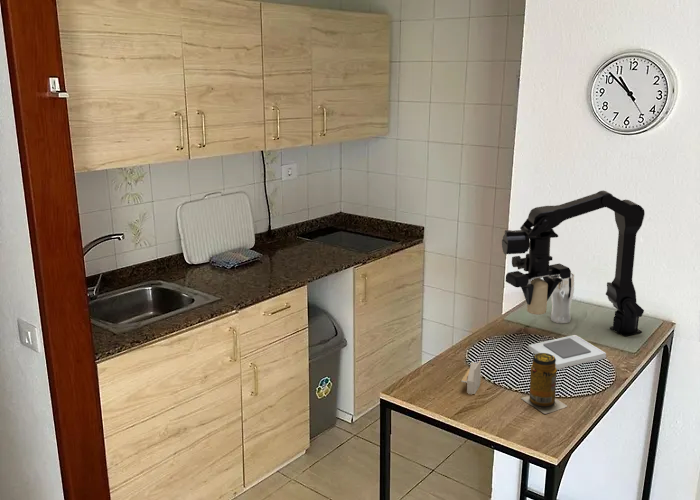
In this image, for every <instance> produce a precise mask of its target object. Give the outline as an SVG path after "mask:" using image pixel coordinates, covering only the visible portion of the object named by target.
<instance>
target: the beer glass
mask: <svg viewBox="0 0 700 500" xmlns="http://www.w3.org/2000/svg"><path fill="white" fill-rule="evenodd" d="M559 278H560V279H562V278H561V277H560V274H559ZM574 292H575V274H574V273H573V272H571V277H570V278H565V279H562V282H560V283H559V284H558V285H557V287H556V288H555V289H554V291H553V293H552V294H551V296H550V299H551V306H552V307H551V314H550V321H552V322H553V323H557V324H568V323H570V322H571V306H572V302H573V298H574Z"/></svg>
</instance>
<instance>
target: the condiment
mask: <svg viewBox="0 0 700 500" xmlns="http://www.w3.org/2000/svg"><path fill="white" fill-rule="evenodd" d="M555 362H556V359H555V357H554V356H553V355H551V354H548V353H538V354H534V355H533V356H532V365H531V366H530V376H529V377H530V379H529V395H526V396H523V397H521V398H520V399H521V400H523V401H524V402H526V403H527V404H528V405H530V406H532V407H533V408H534V409H536V410H537V411H539V412H541V413H542V414H544V415H545V414H550V413H553V412H557V411H560V410H562V409H565V408H567V407H568V405H567V404H565V403H564V402H562V401H560V400H559V399H558V398H556V387H557V374H558V371H557V370H558V369H556V367H555V366H556V364H555Z"/></svg>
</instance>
